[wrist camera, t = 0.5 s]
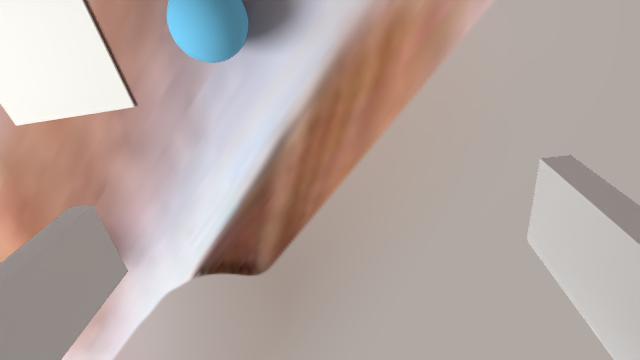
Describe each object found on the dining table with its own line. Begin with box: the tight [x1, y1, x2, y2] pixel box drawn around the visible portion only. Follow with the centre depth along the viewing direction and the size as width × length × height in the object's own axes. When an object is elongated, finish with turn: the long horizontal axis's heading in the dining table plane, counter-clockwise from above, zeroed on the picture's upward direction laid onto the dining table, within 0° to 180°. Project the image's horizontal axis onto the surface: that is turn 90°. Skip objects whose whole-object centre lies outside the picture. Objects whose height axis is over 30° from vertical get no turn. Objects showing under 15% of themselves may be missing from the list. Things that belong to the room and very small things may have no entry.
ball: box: [167, 0, 248, 63], centre depth 25 cm, size 6×6×6 cm
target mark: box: [0, 0, 135, 125], centre depth 29 cm, size 12×12×1 cm
